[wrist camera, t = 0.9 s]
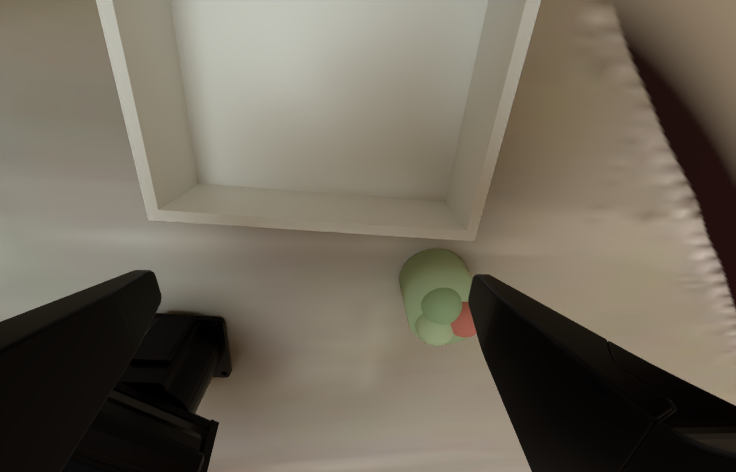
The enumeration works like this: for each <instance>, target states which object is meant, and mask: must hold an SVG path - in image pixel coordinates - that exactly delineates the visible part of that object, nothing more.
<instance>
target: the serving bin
mask: <svg viewBox="0 0 736 472" xmlns="http://www.w3.org/2000/svg"><path fill="white" fill-rule="evenodd" d="M96 3H97V7H98V11H99V15H100V19H101V24H102V28H103V32H104V36H105V40H106V45H107V49H108V53H109V57H110V61H111V65H112V70H113V74H114V78H115V82H116V86H117V91H118V95H119V99H120V103H121V107H122V112H123V116H124V120H125V124H126V128H127V133H128V137H129V141H130V145H131V149H132V154H133V158H134V162H135V166H136V170H137V175H138V179H139V183H140V187H141V191H142V195H143V200H144V204H145V208H146V212H147V216H148V220H155V221H170V222H185V223H200V224H216V225H231V226H246V227H261V228H276V229H291V230H306V231H322V232H337V233H352V234H367V235H382V236H397V237H412V238H428V239H443V240H458V241H473V242H475V239H476V235H477V231H478V228H479V224H480V220H481V217H482V213H483V210H484V206H485V202H486V199H487V195H488V191H489V188H490V184H491V180H492V177H493V173H494V170H495V166H496V162H497V159H498V155H499V151H500V148H501V144H502V141H503V137H504V133H505V130H506V126H507V122H508V119H509V115H510V111H511V108H512V104H513V101H514V97H515V93H516V90H517V86H518V82H519V79H520V75H521V72H522V68H523V64H524V61H525V57H526V53H527V50H528V46H529V42H530V39H531V35H532V32H533V28H534V24H535V21H536V17H537V13H538V10H539V6H540V3H541V0H96Z"/></svg>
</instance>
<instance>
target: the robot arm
mask: <svg viewBox="0 0 736 472" xmlns="http://www.w3.org/2000/svg"><path fill="white" fill-rule="evenodd" d="M160 303H161V292H160V289H159V286H158V282H157V279H156V276H155V274H154V272H152V271H151V270H134V271H131V272H129V273H126V274H124V275H121V276H118V277H116V278H113V279H111V280H108V281H105V282H103V283H100V284H98V285H95V286H92V287H90V288H87V289H85V290H82V291H79V292H77V293H74V294H72V295H69V296H66V297H64V298H61V299H59V300H56V301H53V302H51V303H48V304H46V305H43V306H40V307H38V308H35V309H33V310H30V311H27V312H25V313H22V314H20V315H17V316H14V317H12V318H9V319H7V320H4V321H1V322H0V472H207V470H208V466H209V462H210V457H211V453H212V449H213V445H214V441H215V437H216V433H217V429H218V424H219V422H216V421H214V420H211V421H210V420H208V419H206V418H203V417H201V416H199V415H196V414H195V413H196V410H197V408H198V406H199V404H200V402H201V400H202V398H203V396H204V394H205V392H206V389H207V387H208V385H209V383H210V381H211V379H212V377H229V376H230V374H231V371H232V369H231V362H230V355H229V348H228V341H227V334H226V327H225V321H224V320H223V319H222V318H220V317H203V316H181V315H158V314H155V313H156V311H157V309H158V307H159V305H160ZM468 304H469V308H470V312H471V315H472V319H473V322H474V326H475V329H476V333H477V336H478V340H479V343H480V346H481V349H482V352H483V355H484V358H485V360H486V362H487V365H488V367H489V370H490V372H491V374H492V377H493V379H494V382H495V384H496V386H497V389H498V391H499V394H500V396H501V399H502V401H503V403H504V406H505V408H506V411H507V413H508V415H509V418H510V420H511V423H512V425H513V427H514V430H515V432H516V435H517V437H518V439H519V442H520V444H521V447H522V449H523V451H524V454H525V456H526V459H527V461H528V463H529V466H530V468H531V471H532V472H736V406H735V405H733V404H731V403H729V402H727V401H725V400H723V399H721V398H719V397H717V396H715V395H713V394H711V393H709V392H707V391H704V390H702V389H700V388H698V387H696V386H694V385H692V384H690V383H688V382H686V381H684V380H682V379H680V378H678V377H676V376H674V375H672V374H670V373H668V372H666V371H665V370H663V369H661V368H659V367H657V366H655V365H653V364H651V363H649V362H647V361H645V360H643V359H641V358H640V357H638V356H636V355H634V354H632V353H630V352H628V351H626V350H625V349H623V348H621V347H619V346H617V345H616V344H614V343H612V342H610V341H608V342H607V340H606V339H605V338H603V337H601V336H599V335H597V334H596V333H594V332H592V331H590V330H588V329H587V328H585V327H583V326H581V325H579V324H578V323H576V322H574V321H572V320H570V319H568V318H567V317H565V316H563V315H561V314H559V313H558V312H556V311H554V310H552V309H550V308H549V307H547V306H545V305H543V304H541V303H540V302H538V301H536V300H534V299H532V298H530V297H529V296H527V295H525V294H523V293H521V292H520V291H518V290H516V289H514V288H512V287H511V286H509V285H507V284H505V283H503V282H502V281H500V280H498V279H496V278H494V277H492V276H491V275H487V274H476V275H475V276H474V277H473V279H472V284H471V288H470V292H469V297H468ZM216 323H218V324H216Z"/></svg>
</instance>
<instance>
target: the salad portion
mask: <svg viewBox="0 0 736 472" xmlns="http://www.w3.org/2000/svg"><path fill="white" fill-rule="evenodd" d="M472 279H473V278H472V277H471V275H470V273H469V272H468V270H467V268H466V267H465V265H464V263H463V261H462V260H461V259H460V258H459V257H458V256H457V255H456V254H455V253H453V252H451V251H448V250H445V249H428V250H424V251H421V252H419V253H417V254H415V255H414V256H412V257H411V258H410V259H409V260H408V261H407V262H406V263H405V264H404V266H403V268H402V270H401V273H400V278H399V281H400V287H401V291H402V296H403V300H404V305H405V309H406V314H407V319H408V323H409V326H410V329H411V330H412V332H413V333H414V334H415V335H416V336H417V337H418V338H420V339H421V340H422V341H424V342H425V343H427V344H429V345H432V346H441V345H445V344H452V343H456V342H459V341H462V340H464V339H466V338H468V337H470V336H473V335H475V334H476V329H475V326H474V322H473V319H472V315H471V312H470V308H469V304H468V297H469V292H470V288H471V284H472Z"/></svg>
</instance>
